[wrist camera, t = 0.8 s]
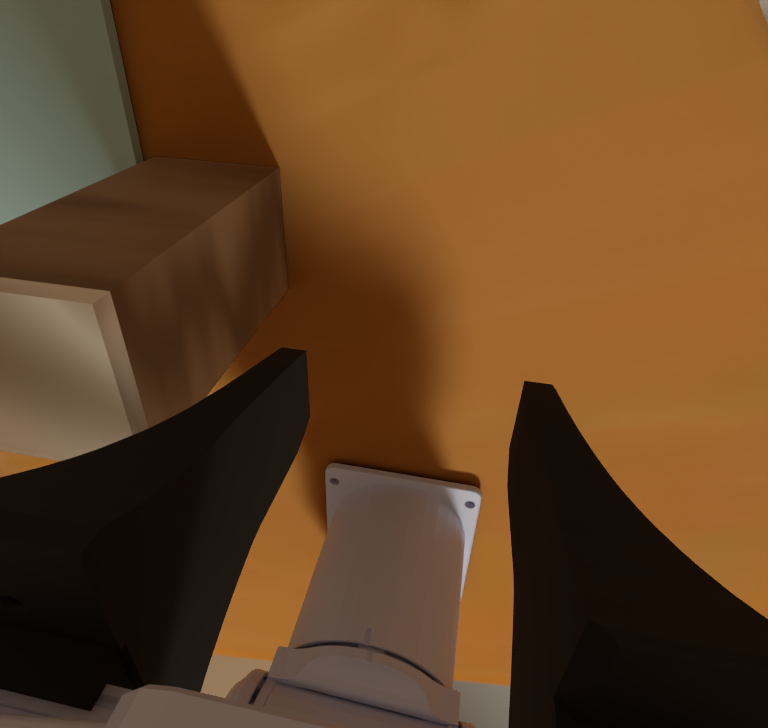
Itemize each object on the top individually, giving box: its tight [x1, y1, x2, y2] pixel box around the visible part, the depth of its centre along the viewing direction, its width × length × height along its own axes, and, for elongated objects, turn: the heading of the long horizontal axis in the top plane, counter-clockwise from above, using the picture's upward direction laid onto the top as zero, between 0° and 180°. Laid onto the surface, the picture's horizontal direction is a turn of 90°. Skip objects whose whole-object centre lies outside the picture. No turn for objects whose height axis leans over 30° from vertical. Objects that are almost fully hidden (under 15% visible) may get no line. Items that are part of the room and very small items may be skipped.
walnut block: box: [0, 156, 288, 461], centre depth 17 cm, size 5×5×11 cm
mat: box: [0, 0, 143, 225], centre depth 22 cm, size 16×11×1 cm
